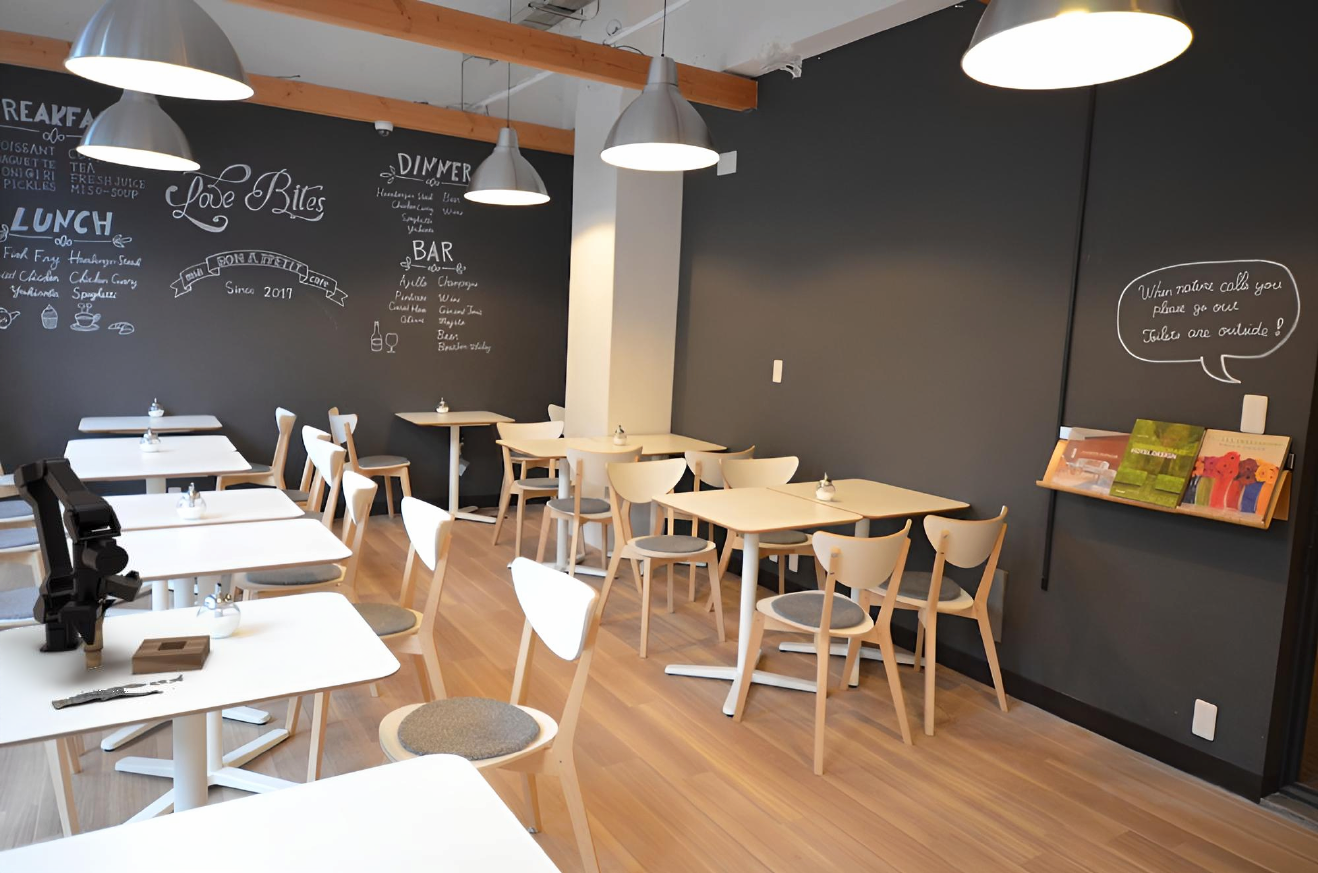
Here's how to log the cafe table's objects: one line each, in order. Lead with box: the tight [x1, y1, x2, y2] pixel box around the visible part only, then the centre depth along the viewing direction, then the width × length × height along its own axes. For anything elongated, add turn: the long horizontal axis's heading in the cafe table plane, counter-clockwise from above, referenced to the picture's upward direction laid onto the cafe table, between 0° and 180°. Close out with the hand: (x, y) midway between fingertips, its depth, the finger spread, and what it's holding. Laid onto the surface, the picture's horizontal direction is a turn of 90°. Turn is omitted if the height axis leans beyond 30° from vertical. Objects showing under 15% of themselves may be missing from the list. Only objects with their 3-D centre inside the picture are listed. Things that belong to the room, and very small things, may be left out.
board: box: [131, 634, 211, 675], centre depth 173 cm, size 10×12×4 cm
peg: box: [82, 617, 104, 669], centre depth 169 cm, size 3×3×12 cm
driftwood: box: [51, 674, 183, 709], centre depth 158 cm, size 21×7×2 cm, turn 121°
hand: (93, 641), depth 169 cm, fingers closed on peg, 3 cm apart
